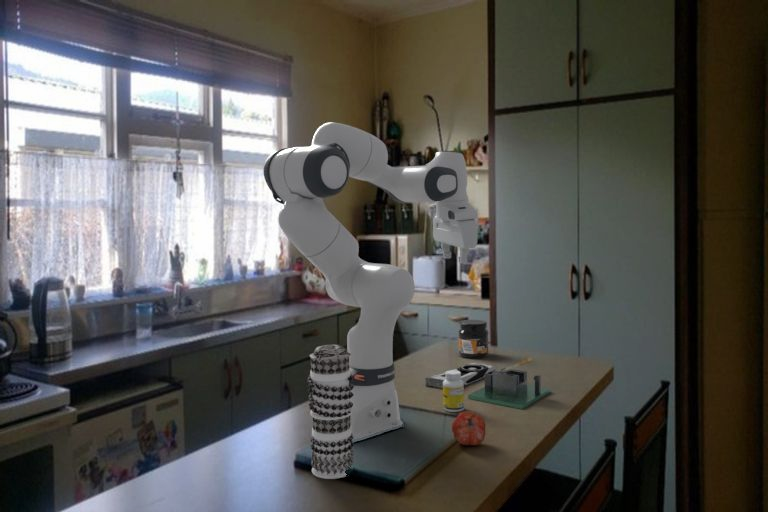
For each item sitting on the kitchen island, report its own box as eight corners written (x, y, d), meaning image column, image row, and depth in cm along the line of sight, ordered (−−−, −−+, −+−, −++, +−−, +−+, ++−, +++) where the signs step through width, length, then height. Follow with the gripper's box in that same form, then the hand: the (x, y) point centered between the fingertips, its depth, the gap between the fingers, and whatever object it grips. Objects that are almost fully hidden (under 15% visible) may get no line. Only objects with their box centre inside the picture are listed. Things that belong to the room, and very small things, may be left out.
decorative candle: (330, 457, 131) (327, 340, 129) (364, 467, 126) (362, 345, 124) (300, 472, 124) (296, 348, 122) (335, 483, 118) (332, 354, 116)
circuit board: (522, 409, 160) (522, 384, 159) (468, 398, 170) (468, 375, 169) (550, 392, 174) (550, 369, 173) (499, 383, 184) (499, 361, 183)
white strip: (528, 362, 166) (525, 357, 166) (488, 380, 174) (486, 376, 174) (532, 360, 168) (530, 355, 169) (493, 378, 176) (491, 374, 176)
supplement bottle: (442, 406, 164) (442, 369, 163) (463, 405, 163) (462, 369, 163) (443, 412, 158) (443, 374, 157) (465, 412, 158) (464, 374, 157)
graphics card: (425, 377, 181) (471, 360, 200) (425, 388, 182) (472, 370, 201) (453, 382, 175) (499, 364, 194) (454, 394, 175) (499, 375, 194)
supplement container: (464, 360, 212) (463, 325, 211) (454, 353, 223) (454, 320, 222) (493, 358, 214) (493, 323, 214) (482, 351, 225) (482, 318, 224)
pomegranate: (450, 448, 140) (447, 435, 132) (456, 417, 144) (453, 402, 136) (483, 454, 138) (482, 441, 130) (488, 423, 142) (487, 408, 134)
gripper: (426, 209, 178) (429, 256, 180) (458, 214, 159) (461, 267, 161) (446, 207, 180) (448, 254, 182) (480, 212, 161) (483, 264, 163)
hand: (455, 260), depth 171 cm, fingers open, 8 cm apart
